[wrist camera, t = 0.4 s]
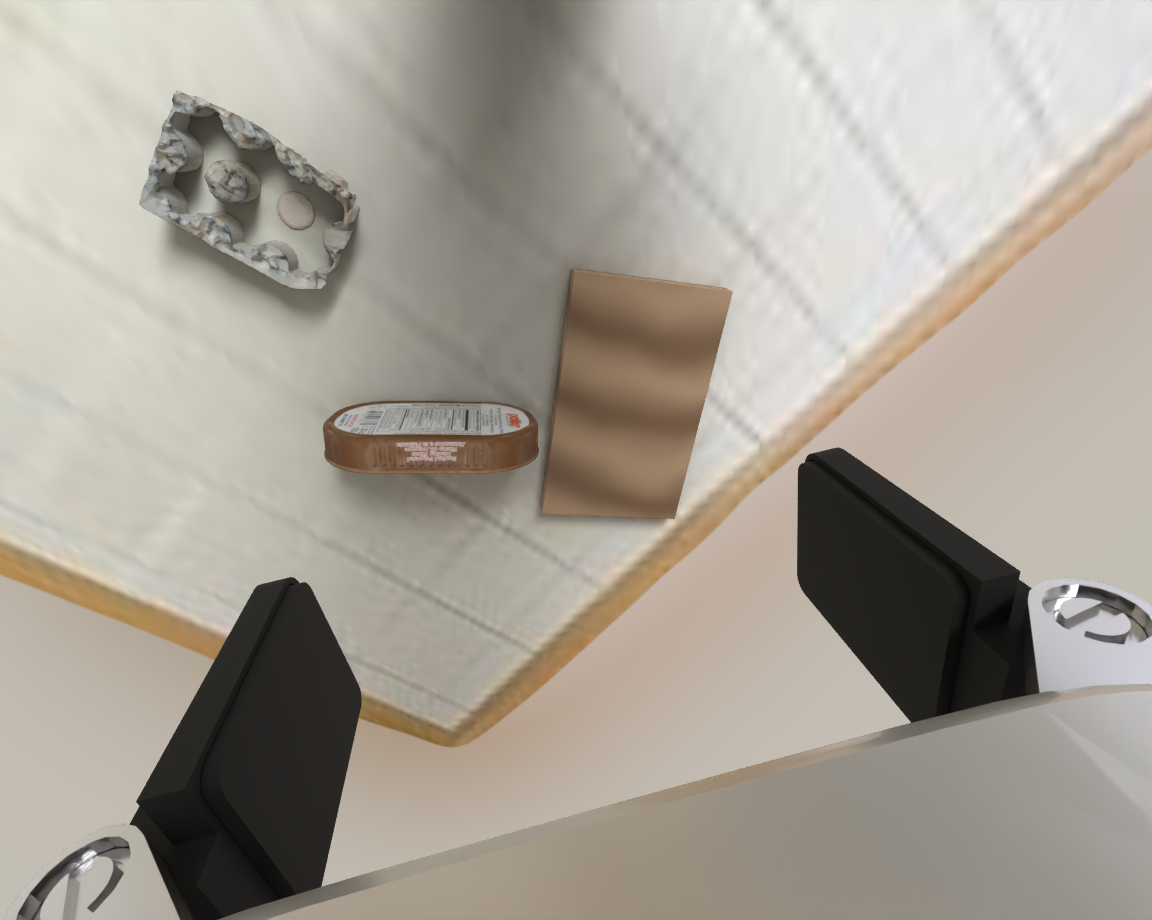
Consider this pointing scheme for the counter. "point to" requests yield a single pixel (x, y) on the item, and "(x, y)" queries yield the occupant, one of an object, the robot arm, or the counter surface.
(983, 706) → the robot arm
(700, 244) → the counter surface
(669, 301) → the walnut board
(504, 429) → the tin
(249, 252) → the egg carton
